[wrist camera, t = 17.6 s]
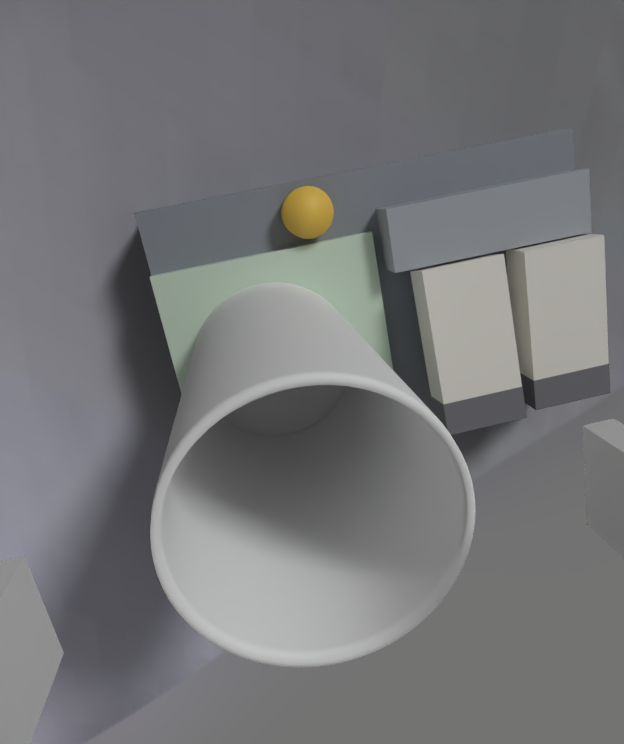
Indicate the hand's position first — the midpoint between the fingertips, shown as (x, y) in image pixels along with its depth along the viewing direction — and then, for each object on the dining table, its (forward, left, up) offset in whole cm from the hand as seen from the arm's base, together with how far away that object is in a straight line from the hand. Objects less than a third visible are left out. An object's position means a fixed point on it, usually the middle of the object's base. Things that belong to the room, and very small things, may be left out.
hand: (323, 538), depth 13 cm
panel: (-1, +6, -21) cm, 22 cm away
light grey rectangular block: (-3, +9, -15) cm, 18 cm away
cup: (0, 0, -17) cm, 17 cm away
